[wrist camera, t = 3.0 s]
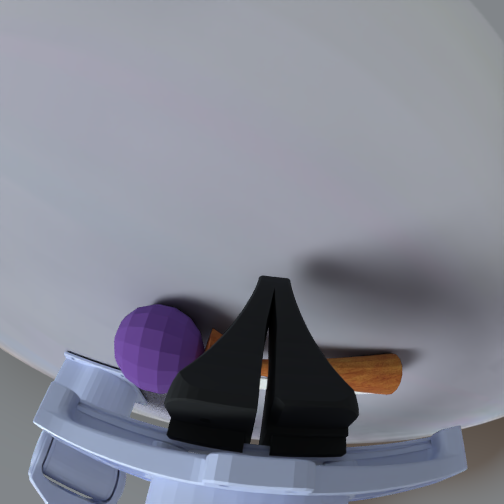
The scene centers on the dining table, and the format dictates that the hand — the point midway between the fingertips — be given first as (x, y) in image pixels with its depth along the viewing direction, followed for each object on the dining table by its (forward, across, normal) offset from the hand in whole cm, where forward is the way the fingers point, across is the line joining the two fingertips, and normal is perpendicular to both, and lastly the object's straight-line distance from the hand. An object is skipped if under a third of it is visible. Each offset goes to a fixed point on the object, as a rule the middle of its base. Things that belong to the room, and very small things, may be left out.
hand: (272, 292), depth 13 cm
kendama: (+3, 0, +7) cm, 8 cm away
